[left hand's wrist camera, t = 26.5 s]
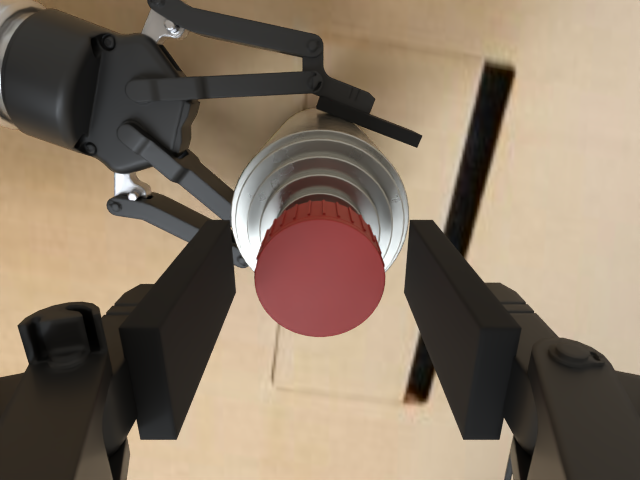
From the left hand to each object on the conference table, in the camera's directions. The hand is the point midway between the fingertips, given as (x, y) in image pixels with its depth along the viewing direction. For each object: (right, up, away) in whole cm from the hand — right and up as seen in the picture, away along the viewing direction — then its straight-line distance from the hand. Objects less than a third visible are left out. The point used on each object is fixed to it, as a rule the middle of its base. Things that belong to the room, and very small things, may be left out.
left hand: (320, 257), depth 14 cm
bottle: (0, +7, +19) cm, 20 cm away
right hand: (+4, +3, +13) cm, 15 cm away
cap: (0, -1, -1) cm, 2 cm away
